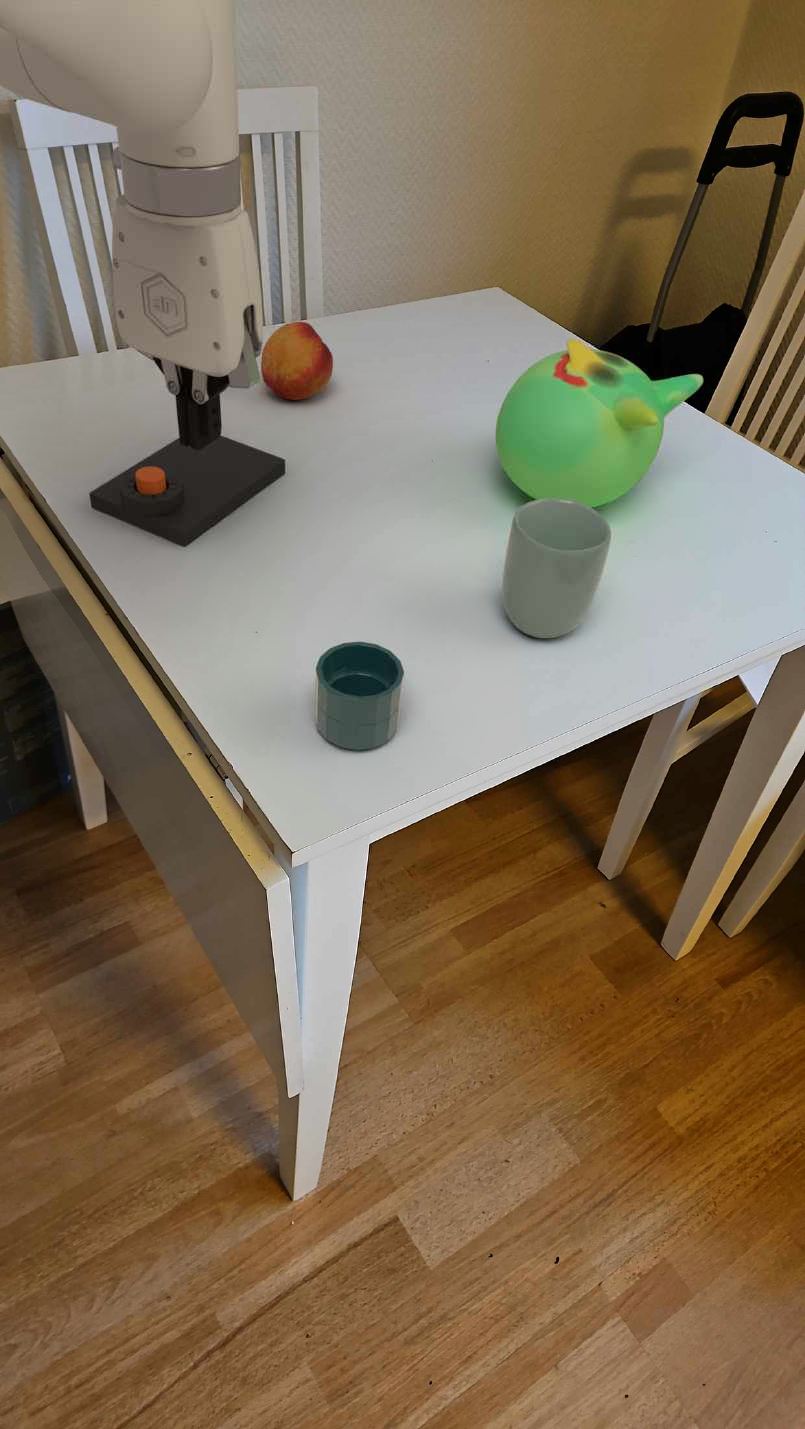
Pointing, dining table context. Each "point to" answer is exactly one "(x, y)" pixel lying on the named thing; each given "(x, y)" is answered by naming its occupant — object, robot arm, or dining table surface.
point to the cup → (553, 565)
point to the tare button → (150, 480)
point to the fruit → (296, 361)
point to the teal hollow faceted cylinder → (358, 695)
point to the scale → (190, 488)
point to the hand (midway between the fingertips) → (200, 440)
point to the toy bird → (585, 424)
